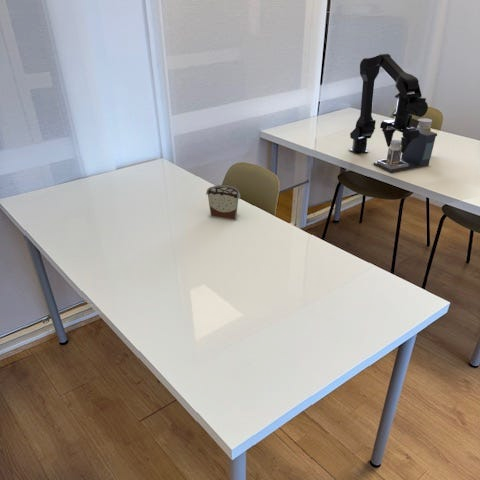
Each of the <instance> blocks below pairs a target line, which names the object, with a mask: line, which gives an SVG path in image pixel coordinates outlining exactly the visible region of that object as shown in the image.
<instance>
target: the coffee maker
mask: <svg viewBox="0 0 480 480" xmlns="http://www.w3.org/2000/svg"><path fill="white" fill-rule="evenodd" d="M411 128H414V127H411ZM407 129H410V128H407ZM416 129H417V130H419V131H420V135H419V137H417V138H416V139H413V140H412V141H411V142H410V143H409V145H408V147H407V148H406V150H405V152H404V153H402V152H401V157H400V162H399V165H397V166H390V165H388V164H386V160H387V158H383V159H378V160H377V161H374V162H373V166H376V168H377V167H378V168H379V169H381V170H384V171H385V172H388V173H389V174H395V173H400V172H405V171H410V170H415V169H420V168H426V167H430V162H431V157H432V153H433V150H434V146H435V142H436V138H437V136H438V133H437V132H434V131H432V130H431V131H428V130H426V129H423V128H420V127H417V128H416Z"/></svg>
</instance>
